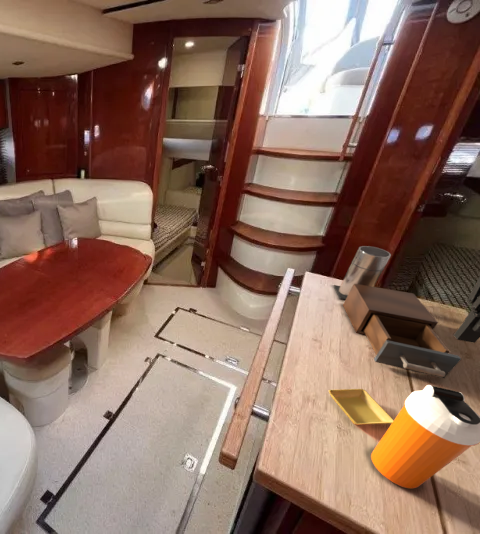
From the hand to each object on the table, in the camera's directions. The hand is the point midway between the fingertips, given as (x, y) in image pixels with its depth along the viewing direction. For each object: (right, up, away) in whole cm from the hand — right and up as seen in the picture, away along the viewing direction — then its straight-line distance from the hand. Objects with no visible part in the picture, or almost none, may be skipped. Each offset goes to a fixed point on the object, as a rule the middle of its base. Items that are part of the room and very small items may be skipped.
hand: (463, 339), depth 64 cm
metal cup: (+16, +6, +43) cm, 46 cm away
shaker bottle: (-20, -24, -5) cm, 32 cm away
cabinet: (+12, -3, +30) cm, 33 cm away
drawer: (+5, -9, +17) cm, 20 cm away
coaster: (+16, +5, +44) cm, 47 cm away
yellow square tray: (-18, -18, +5) cm, 26 cm away
